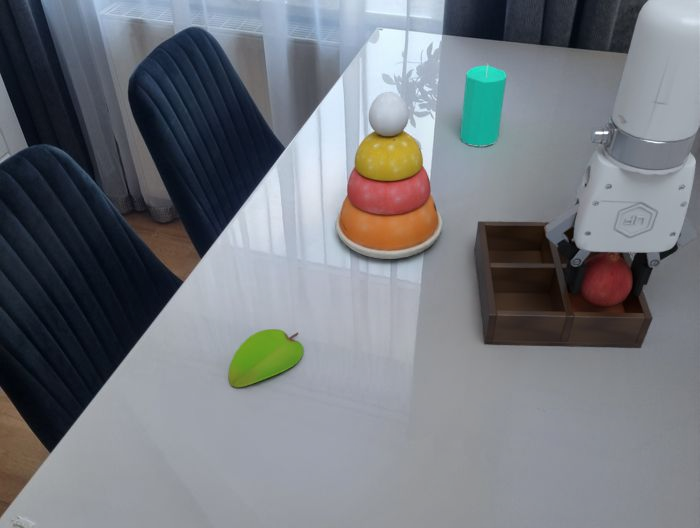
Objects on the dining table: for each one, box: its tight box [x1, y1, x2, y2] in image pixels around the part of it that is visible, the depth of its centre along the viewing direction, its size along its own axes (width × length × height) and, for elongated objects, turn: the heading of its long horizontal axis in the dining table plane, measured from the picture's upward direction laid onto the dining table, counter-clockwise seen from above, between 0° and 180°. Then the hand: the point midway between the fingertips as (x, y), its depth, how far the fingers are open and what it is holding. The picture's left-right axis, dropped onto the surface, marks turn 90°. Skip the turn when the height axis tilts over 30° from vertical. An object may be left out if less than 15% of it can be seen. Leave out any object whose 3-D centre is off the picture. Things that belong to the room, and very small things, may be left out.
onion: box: [579, 252, 633, 308], centre depth 75 cm, size 6×6×8 cm
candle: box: [459, 63, 507, 146], centre depth 105 cm, size 6×6×12 cm
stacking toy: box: [335, 91, 443, 260], centre depth 86 cm, size 14×14×20 cm
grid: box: [473, 220, 653, 349], centre depth 81 cm, size 17×17×5 cm
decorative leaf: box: [228, 328, 304, 388], centre depth 76 cm, size 8×9×1 cm
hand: (602, 286), depth 76 cm, fingers closed on onion, 6 cm apart
